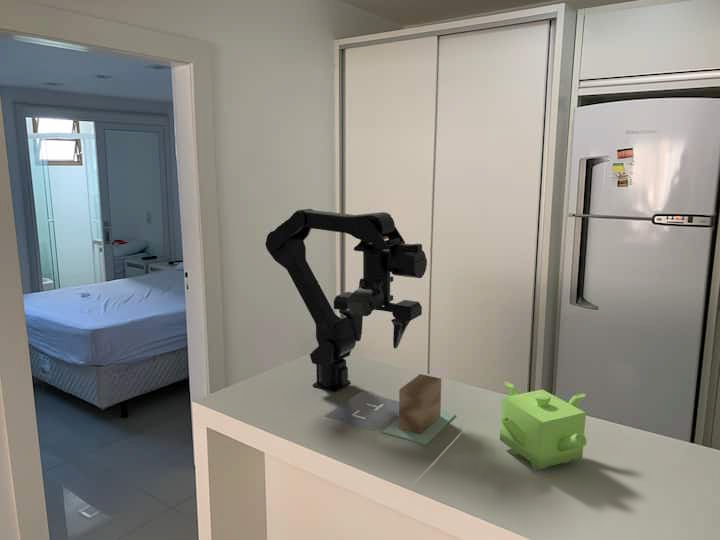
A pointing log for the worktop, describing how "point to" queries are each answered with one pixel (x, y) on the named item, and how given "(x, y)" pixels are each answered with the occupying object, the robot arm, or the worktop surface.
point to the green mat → (426, 435)
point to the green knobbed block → (542, 427)
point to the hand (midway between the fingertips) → (376, 344)
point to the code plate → (366, 411)
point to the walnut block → (419, 403)
